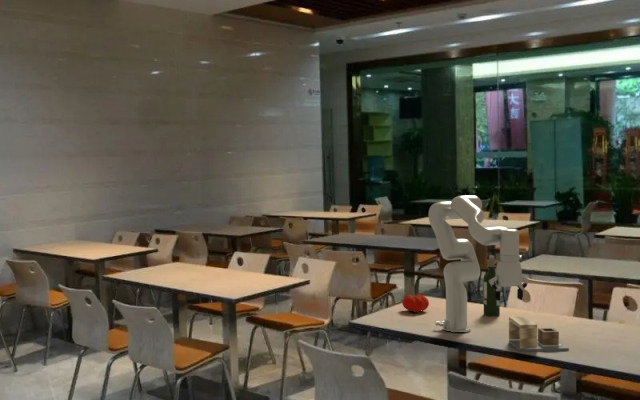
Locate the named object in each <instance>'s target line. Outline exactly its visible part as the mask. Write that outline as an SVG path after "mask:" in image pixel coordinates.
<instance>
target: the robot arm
mask: <svg viewBox="0 0 640 400" xmlns="http://www.w3.org/2000/svg"><path fill="white" fill-rule="evenodd" d="M482 208H483V203H482V200H481V199H480V197H478V196H477V195H470V194H469V195H458V196H456V197H454V198H452V200H451V201H450V200H449V201H448V200H447V201H437V202H434V203H433V204H432V205H431V206H430V207H429V210H428V221H429V224H430V226H431V228H432V230H433V232H434V235H435V238H436V241H437V242H436V243H437V245H438V248H439V251H440V255H441V257H442V259H444V260H446V261H452V262H449V263H446V265H445V266H444V268H443V278H444V282H445V318H444V319H443V320H441V321H438V320H437V321H435V326H436V327H437V326H439V327H442V330H443V329H444V330H447V331H451V332H466V333H470V331H471V327H470V326H469V325H468V291H467V288H466V286H465V284H464V283H465V282H471V281H476V280H478V279H479V277H480V275H481V268H480V264H479V261H478V257H477V254H476V251H475V248H474V245H473V244H472V242H471V241H470V240H469V239H467V238H457V237H456V236H455V235H456V234H455V232H454V230H453V227H452V225H450V224H449V223H448V222H447V221H446V220H460V219H462V221H464V222H465V224H467V228H468V232H469V234H470V236H471V237H472V238H473V239H474V240H475V241H476V242H477V243H479V244H480V245H482V246H496V245H499V261H497V264H496V265H497V266H496V269H495V273H496V276H495V277H494V278H492V279H490V280H489V283H490V285H491V287H492V288H493V289H494V290H495V299H496V300H498V301H501V291H499V290H500V289H502V287H504V288H505V287H517V291H516V292H517V293H516V294H517V297H516V298H517V299H518V300H520V301H523V297H524V290H525V288H526V287H527V286H528V285H529V282H530V279H529V278H528V277H525V276H524V275H523V272H522V271H523V270H522V265H521V261H520V260H522V258H523V256H522V255H520V232H519V230H518V229H517V228H508V227H505V226H489V227H488V226H487V227H485V226H483V224H482V222H483V221H484V219H485V212H484V211H483V210H482ZM454 260H459V261H454ZM494 281H495V283H496V286H495V285H494ZM444 330H443V331H444ZM451 332H450V333H451Z"/></svg>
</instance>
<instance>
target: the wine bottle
mask: <svg viewBox="0 0 640 400" xmlns="http://www.w3.org/2000/svg"><path fill="white" fill-rule="evenodd" d="M495 266H496V265H495V255H489V256H488V272H487V273H486V274H485V275H484V277H483V315H484V316H485V315H486V317H492V316H495V317H499V316H500V314H501V313H500V311H501V310H500V306H501V305H500V301H501V300H500V301H498V300H496V299H495V290H494V289H493V288H492V287H491V285H490V283H489V280H490V279H492V278H494V277H495V276H496V269H495ZM494 285H495V286H496V283H495V281H494ZM499 291H500V290H499ZM500 292H501V291H500Z"/></svg>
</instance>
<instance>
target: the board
mask: <svg viewBox="0 0 640 400" xmlns="http://www.w3.org/2000/svg"><path fill="white" fill-rule="evenodd" d="M508 343H509V344H510V345H511V346H512V347H514V348H515V349H516V350H518V351H519V352H520V353H522V352H523V353H524V352H561V351H562V352H565V351H566V352H567V351H570V348H569V347H567V346H566V345H565V344H563V343H562V342H560V341H559V345H542V344H541V343H540V342H538V338H537V348H521V349H520V340H509V339H508Z"/></svg>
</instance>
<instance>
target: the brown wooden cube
mask: <svg viewBox="0 0 640 400" xmlns="http://www.w3.org/2000/svg"><path fill="white" fill-rule="evenodd" d="M559 336H560V332H559V331H558V330H557V329H556V328H553V327H541V328H538V327H537V339H538V342H540V343H541V344H542V345H559V342H560V337H559Z"/></svg>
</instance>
